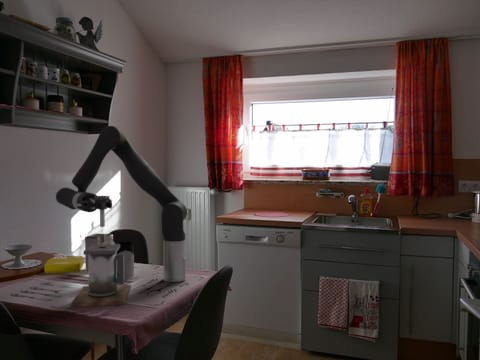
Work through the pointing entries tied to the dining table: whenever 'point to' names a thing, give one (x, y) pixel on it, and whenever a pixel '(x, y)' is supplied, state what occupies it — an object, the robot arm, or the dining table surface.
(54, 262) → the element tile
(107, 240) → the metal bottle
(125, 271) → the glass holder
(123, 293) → the board
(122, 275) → the press
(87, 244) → the coffee box
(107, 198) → the plunger
